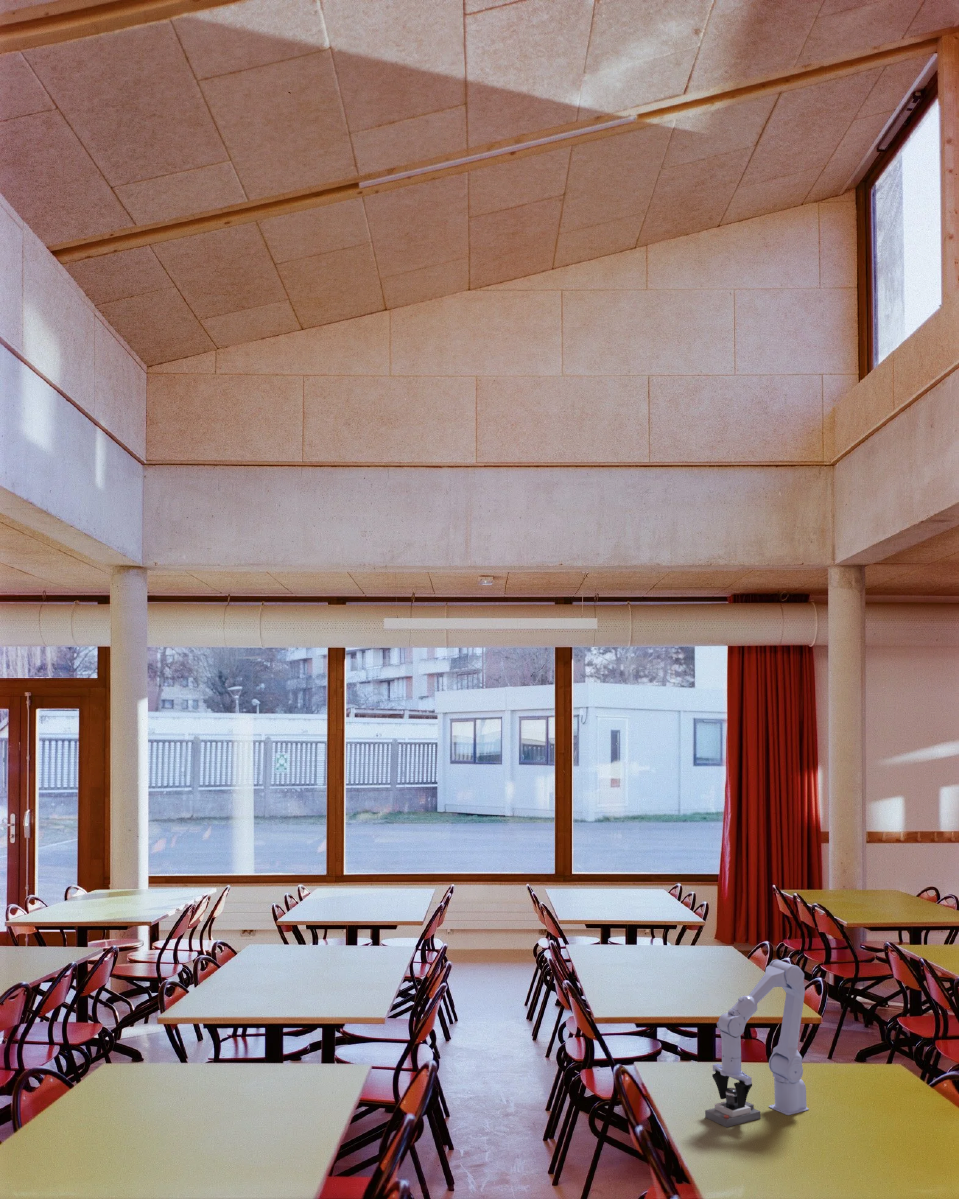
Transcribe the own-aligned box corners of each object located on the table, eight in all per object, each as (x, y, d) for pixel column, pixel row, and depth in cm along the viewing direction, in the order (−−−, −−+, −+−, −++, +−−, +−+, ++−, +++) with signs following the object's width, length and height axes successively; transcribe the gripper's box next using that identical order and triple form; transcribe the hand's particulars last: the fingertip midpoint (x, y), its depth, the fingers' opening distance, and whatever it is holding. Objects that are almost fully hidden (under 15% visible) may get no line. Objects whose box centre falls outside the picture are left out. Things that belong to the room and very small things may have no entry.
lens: (734, 1107, 310) (734, 1087, 311) (742, 1112, 306) (742, 1091, 307) (723, 1109, 309) (722, 1088, 310) (731, 1114, 305) (730, 1093, 306)
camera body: (738, 1108, 315) (738, 1096, 315) (760, 1118, 307) (760, 1106, 307) (705, 1117, 308) (705, 1105, 308) (726, 1127, 300) (726, 1114, 300)
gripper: (705, 1051, 314) (706, 1097, 312) (739, 1064, 301) (740, 1112, 300) (721, 1047, 317) (722, 1093, 316) (756, 1060, 305) (757, 1108, 303)
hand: (732, 1102), depth 308 cm, fingers open, 7 cm apart
